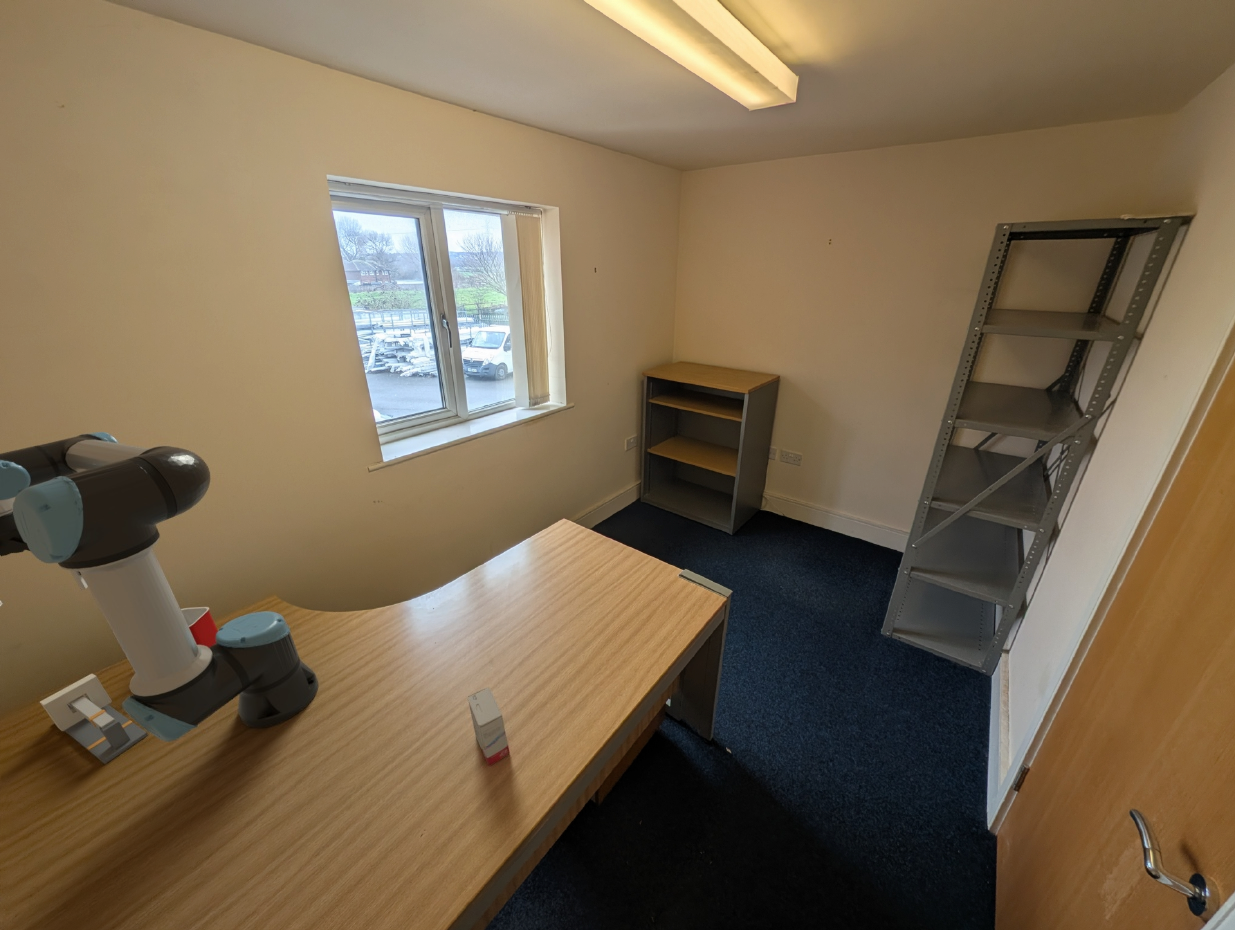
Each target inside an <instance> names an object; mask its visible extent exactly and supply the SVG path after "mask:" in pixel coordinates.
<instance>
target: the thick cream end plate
mask: <svg viewBox="0 0 1235 930" xmlns="http://www.w3.org/2000/svg"><path fill="white" fill-rule="evenodd" d="M82 695H83V696H84V697H85V698H87V699H88V700H89V701H91V702H92V703H93V704H95V705H96V706H98V707H99V708H100V709H101V708H102V707H104V706H106V705H110V704H111V703H112V702H113V701H112V699H111V697H110V696H109V694H108V692H107V691H106V690H105V687H104V686H103V685H102V683H101V680H99V678H98V676H97V675H95V674H94V673H90V674H88V675H87V676H84V677H83V678H81V679H78V680H77V681H76V682H74V683H72V684H70V685H68V686H65V687H64V688H62V689H60V690H59V691H57V692H55V693H52V694H51V695H49V696H48V697H46V698H44V699H42V700H41V701H39V703H40V705H41V706H42V707H43V709H44V710H45V711H46V713H47V714H48V716H49V718H51V720H52V722H53V724H55V726H56V727H57V729H59V730H60V731H61V732H65V731H64V730H66V729H67V728H69V727H71V726H72V725H74V724H76V723H77V722H79V721H81V720H82V719H84V718H85V717H84V716H82V715H81V714H80V713H78V712H77V711H76V710H74V709H71V710H70V708H69V707H68V705H67V704H68V703H69V702H71V701H73V700H75V699H76V698H78V697H80V696H82Z"/></svg>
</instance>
